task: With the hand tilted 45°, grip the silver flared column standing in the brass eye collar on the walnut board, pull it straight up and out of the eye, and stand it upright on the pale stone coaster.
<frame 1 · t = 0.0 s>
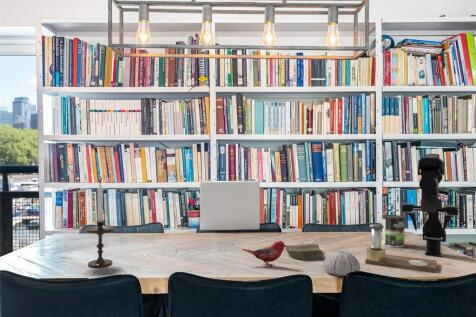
hand: (429, 231, 146), 15 cm above the table, tool pointing down, fingers open, 9 cm apart
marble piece: (305, 256, 168), on the table
walnut board: (400, 263, 155), on the table
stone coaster: (418, 263, 150), resting on walnut board
silver flared column: (376, 242, 157), in the brass eye collar, point 8 cm above the table, touching walnut board
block: (229, 228, 231), on the table
coffee can: (393, 245, 188), on the table
sea urchin shell: (341, 273, 143), on the table
candlestick: (100, 265, 154), on the table
decorative bird figurine: (264, 266, 153), on the table
brass eye collar: (376, 253, 157), on the walnut board, point 4 cm above the table
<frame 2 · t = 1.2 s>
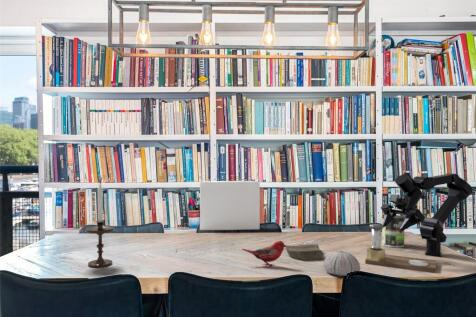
hand: (391, 228, 160), 13 cm above the table, tool tilted 45°, fingers open, 9 cm apart
nothing on the table moved.
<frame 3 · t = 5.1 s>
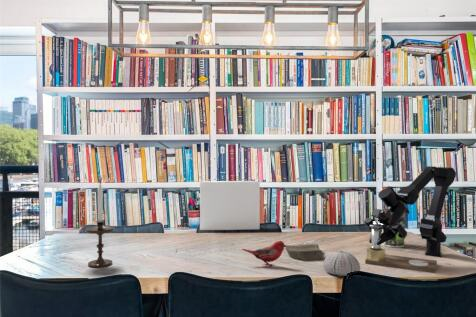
hand: (373, 243, 156), 8 cm above the table, tool tilted 45°, fingers closed on silver flared column, 4 cm apart
silver flared column: (376, 242, 157), in the brass eye collar, point 8 cm above the table, touching gripper, walnut board
everything else where it was.
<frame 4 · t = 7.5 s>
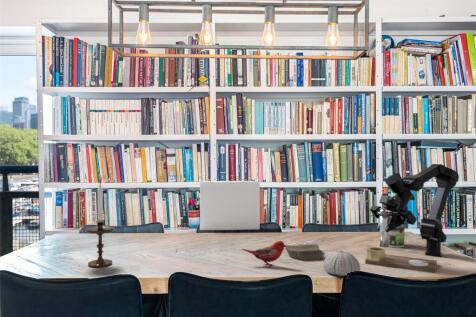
hand: (382, 230, 154), 13 cm above the table, tool tilted 45°, fingers closed on silver flared column, 4 cm apart
silver flared column: (384, 229, 155), point 14 cm above the table, touching gripper
everything else where it was.
when the fingers open (9 cm above the table, at t = 10.2 s): silver flared column stays where it is, resting on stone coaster.
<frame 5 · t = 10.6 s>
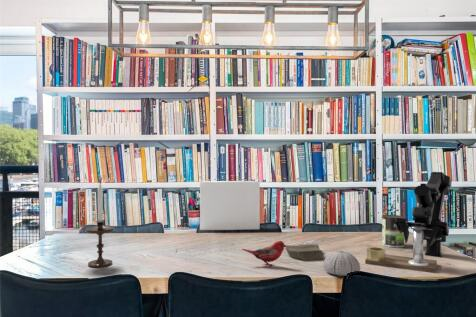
hand: (417, 244, 149), 9 cm above the table, tool tilted 45°, fingers open, 8 cm apart
silver flared column: (418, 244, 150), on the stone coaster, point 9 cm above the table
everything else where it was.
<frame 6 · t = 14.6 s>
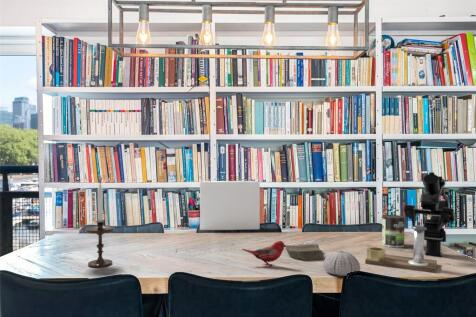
hand: (425, 229, 157), 14 cm above the table, tool tilted 45°, fingers open, 9 cm apart
nothing on the table moved.
at the end: silver flared column 0.1 cm off-centre on the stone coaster, point 7.5 cm above the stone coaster's base; silver flared column tilted 1°; the gripper is holding nothing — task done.
